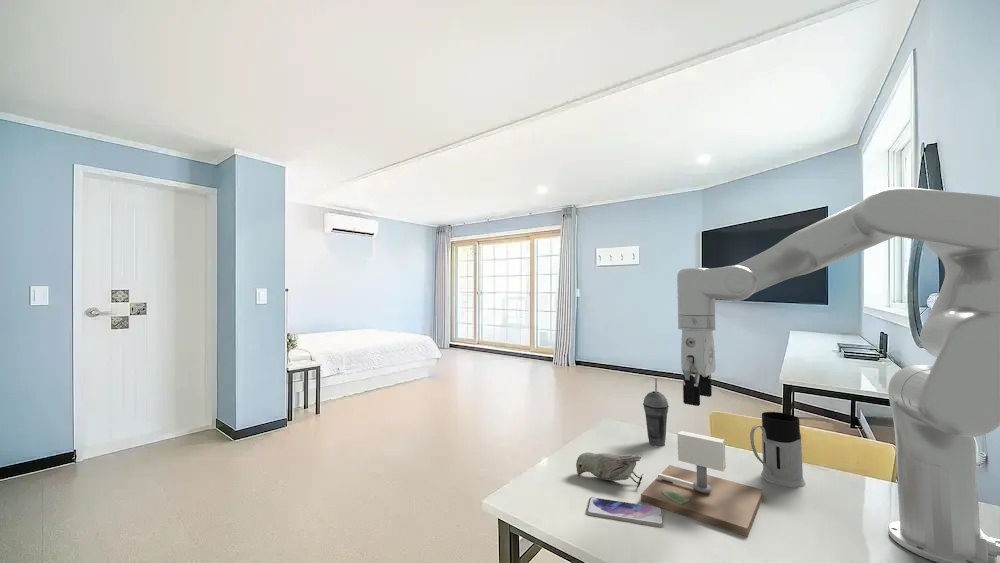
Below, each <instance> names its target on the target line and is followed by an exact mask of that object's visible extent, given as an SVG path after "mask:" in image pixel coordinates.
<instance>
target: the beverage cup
mask: <svg viewBox="0 0 1000 563" xmlns="http://www.w3.org/2000/svg"><path fill="white" fill-rule="evenodd" d="M657 378H658V377H655V380H654V390H653V391H650V392H648V393H647V394H646V395H645V396H644V398H643V404H642V405H643V410H644V412H645V422H646V423H645V424H646V431H647V438H648V443H649V445H650V446H654V447H658V448H659V447H660V448H662V447H665V445H666V438H667V419H668V412H669V407H670V406H669V403H668V400H667V398H666V396H665V395H664V394H663V393H661V392H659V391H658V379H657Z"/></svg>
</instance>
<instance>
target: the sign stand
mask: <svg viewBox="0 0 1000 563" xmlns="http://www.w3.org/2000/svg"><path fill="white" fill-rule="evenodd" d="M725 442H726V440H725V439H722V438H718V437H713V436H709V435H704V434H698V433H694V432H689V431H684V430H680V431H679V432H677V458H678V459H677V460H678V462H679V461H680V462H682V463H683V462H684V463H687V464H691V465H695V467H696V472H697V482H696V483H692V482H688V481H685V480H681V479H678V478H674V477H670V476H667V475H663V474H661V473H658V474H657V477H660V478H664V479H667V480H671V481H674V482H677V483H681V484H684V485H688V486H691V487H693V488H694V489H695V490H696V491H698V492H702V493H710V492H711V491H712V490H711V486H710V485H708V484H707V475H708V474H707V473H708V471H707V469H712V470H715V471H719V472H724V471H725V470H726V468H727V467H726V447H725V446H726V443H725Z"/></svg>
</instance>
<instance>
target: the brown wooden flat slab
mask: <svg viewBox="0 0 1000 563" xmlns="http://www.w3.org/2000/svg"><path fill="white" fill-rule="evenodd" d="M660 474H663V475H667V476H670V477H674V478H678V479H681V480H685V481H688V482H692V483H696V482H697V471H695V470H691V469H686V468H683V467H679V466H674V465H670V464H669V465H668V466H667V467H666V468H665V469H664V470H663V471H662V472H661V473H660ZM707 484H708V485H710V486H711V490H712V491H711V492H710V493H702V492H698V491H696V490H695V489H694V488H693V487H691V486H688V485H684V484H681V483H677V482H674V481H671V480H667V479H664V478H660V477H658V476H657V477H656V478H654V480H653V481H652V482H651V483H650V484H649V485H648V486H647V487H645V489H644V490H643V491H642V492H641V493H640V500H641V502H643V503H646V504H650V505H651V506H654V507H659V508H661V509H664V510H667V511H670V512H673V513H676V514H679V515H683V516H685V517H689V518H691V519H693V520H697V521H699V522H703V523H707V524H709V525H713V526H715V527H718V528H720V529H722V530H723V529H724V530H727V531H729V532H733V533H736V534H737V535H741V536H745V537H749V535H750V533H751V532H750V531H751V529H752V527H753V524H754V521H755V520H756V516H757V513H758V511H759V509H760V506H761V504H762V500H763V499H764V490H763V488H758V487H754V486H751V485H748V484H745V483H744V484H743V483H739V482H736V481H734V480H733V481H732V480H728V479H725V478H721V477H717V476H714V475H709V474H707Z"/></svg>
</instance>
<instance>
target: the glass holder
mask: <svg viewBox="0 0 1000 563" xmlns="http://www.w3.org/2000/svg"><path fill="white" fill-rule="evenodd" d="M800 424H801V423H800V418H799V417H798V416H796V415H793V414H789V413H785V412H779V411H765V412H762V413H761V425H760V424H756V425H753V426H752V428H751V430H750V432H749V433H750V436H749V440H750V445H751V449H752V452H753V454H754V456H755V457H756V459H757V460H758V461H759V462H760V463H761V464H762V471H761V473H760V476H761V477H762V478H763V479H764V480H766V481H767V482H769V483H772V484H775V485H776V486H777V485H778V486H782V487H786V488H794V489H795V488H802V487H805V486H806V481H805V479H804V476H803V475H804V474H803V473H804V472H803V452H802V449H803V448H802V434H801V430H800V429H801V426H800ZM758 428H760V429H761V451H762V458H761V457H760V455H759V454H758V452H757V449H756V445H755V439H754V437H755V436H754V435H755V431H756V429H758Z"/></svg>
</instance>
